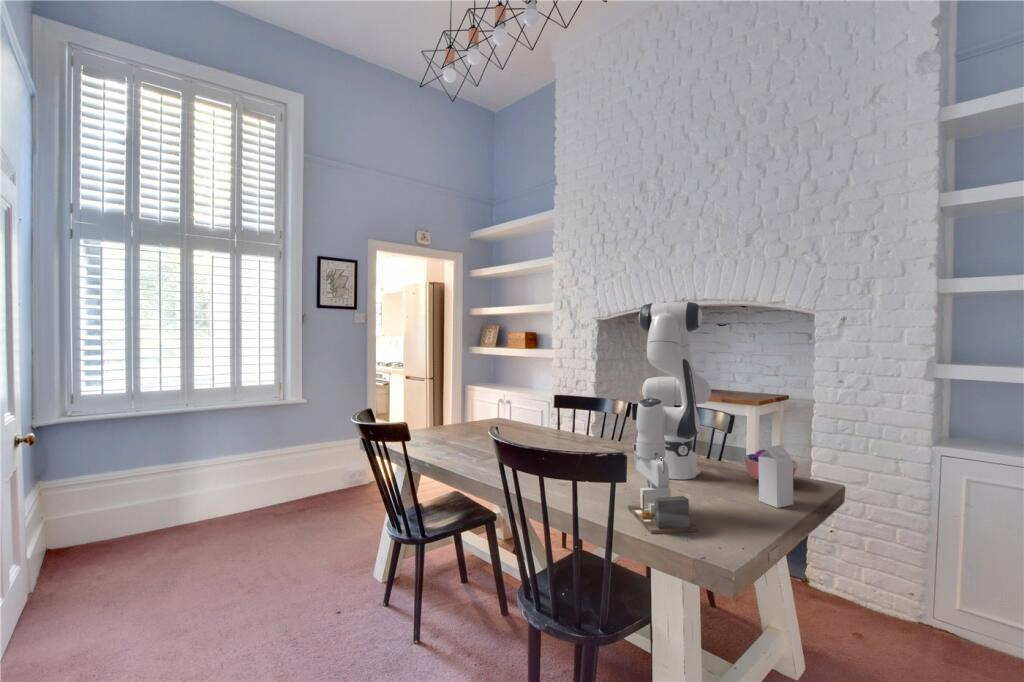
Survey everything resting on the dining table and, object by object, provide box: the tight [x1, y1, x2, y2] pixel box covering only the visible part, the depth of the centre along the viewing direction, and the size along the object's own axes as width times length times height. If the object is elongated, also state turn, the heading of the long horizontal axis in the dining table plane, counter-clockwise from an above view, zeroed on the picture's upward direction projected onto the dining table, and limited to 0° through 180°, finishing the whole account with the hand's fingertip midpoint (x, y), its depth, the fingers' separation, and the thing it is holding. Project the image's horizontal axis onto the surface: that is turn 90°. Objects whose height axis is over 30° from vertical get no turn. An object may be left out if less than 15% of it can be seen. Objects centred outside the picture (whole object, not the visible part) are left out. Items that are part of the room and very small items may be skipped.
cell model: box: [741, 449, 799, 481], centre depth 180 cm, size 17×20×11 cm
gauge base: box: [627, 495, 699, 534], centre depth 147 cm, size 20×14×9 cm
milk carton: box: [758, 444, 794, 509], centre depth 158 cm, size 7×7×19 cm
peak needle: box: [641, 495, 651, 517], centre depth 146 cm, size 1×3×6 cm, turn 95°
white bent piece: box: [639, 486, 672, 515], centre depth 148 cm, size 8×9×7 cm
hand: (651, 493), depth 154 cm, fingers closed
